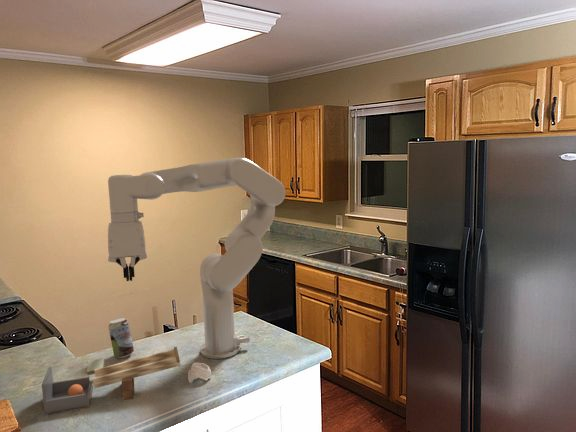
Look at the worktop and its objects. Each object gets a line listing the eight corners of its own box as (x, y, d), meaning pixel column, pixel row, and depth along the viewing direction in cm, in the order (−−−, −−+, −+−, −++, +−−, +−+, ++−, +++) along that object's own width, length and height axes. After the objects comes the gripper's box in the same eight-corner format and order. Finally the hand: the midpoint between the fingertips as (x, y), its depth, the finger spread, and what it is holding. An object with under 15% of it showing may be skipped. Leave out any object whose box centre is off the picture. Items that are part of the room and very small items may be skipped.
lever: (176, 346, 141) (173, 333, 140) (181, 370, 125) (178, 356, 124) (90, 368, 134) (87, 354, 133) (85, 396, 118) (81, 381, 117)
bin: (92, 388, 127) (90, 360, 126) (89, 407, 117) (86, 377, 116) (51, 395, 124) (48, 366, 122) (44, 415, 114) (41, 384, 113)
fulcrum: (134, 381, 130) (132, 363, 129) (134, 398, 121) (133, 379, 120) (123, 383, 129) (121, 364, 128) (122, 400, 120) (120, 381, 119)
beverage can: (127, 360, 143) (124, 323, 141) (106, 359, 145) (103, 322, 143) (138, 352, 149) (135, 316, 147) (117, 350, 151) (114, 315, 149)
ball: (74, 379, 122) (65, 390, 121) (73, 385, 118) (63, 397, 118) (86, 386, 123) (77, 397, 123) (85, 392, 120) (76, 404, 119)
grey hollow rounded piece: (186, 377, 134) (183, 361, 133) (208, 370, 136) (206, 355, 136) (191, 388, 126) (188, 371, 126) (214, 380, 129) (212, 364, 128)
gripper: (151, 214, 138) (155, 274, 141) (97, 218, 134) (102, 279, 136) (152, 217, 131) (156, 280, 134) (95, 221, 127) (101, 286, 129)
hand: (129, 279), depth 135 cm, fingers closed
